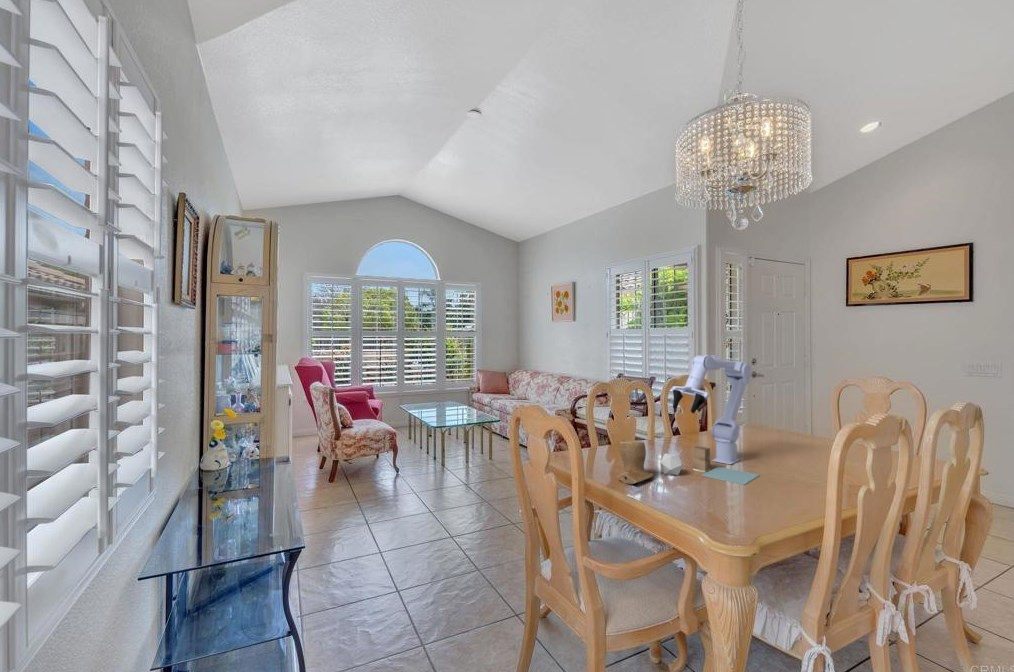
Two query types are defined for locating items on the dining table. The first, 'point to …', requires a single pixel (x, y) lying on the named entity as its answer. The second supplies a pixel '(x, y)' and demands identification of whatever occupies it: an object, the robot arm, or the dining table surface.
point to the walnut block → (701, 458)
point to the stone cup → (633, 462)
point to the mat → (731, 475)
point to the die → (671, 464)
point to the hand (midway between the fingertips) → (683, 410)
